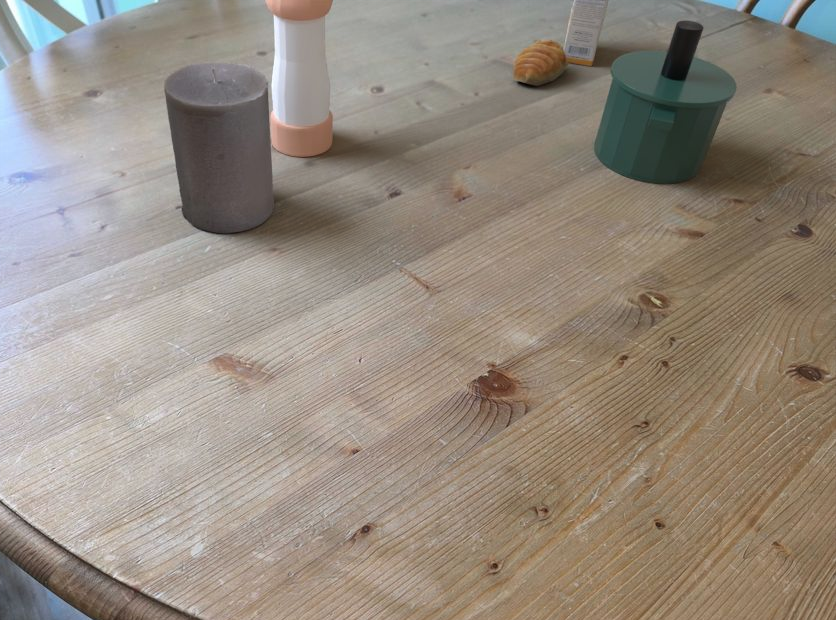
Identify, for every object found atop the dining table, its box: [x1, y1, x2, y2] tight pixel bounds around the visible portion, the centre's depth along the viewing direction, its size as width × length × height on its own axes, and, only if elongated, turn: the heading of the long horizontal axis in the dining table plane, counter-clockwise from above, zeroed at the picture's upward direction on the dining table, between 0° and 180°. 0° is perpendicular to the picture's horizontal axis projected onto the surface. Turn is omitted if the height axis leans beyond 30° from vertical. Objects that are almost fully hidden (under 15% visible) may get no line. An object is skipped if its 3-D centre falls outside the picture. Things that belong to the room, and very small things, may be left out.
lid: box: [610, 20, 737, 108], centre depth 82 cm, size 14×14×7 cm
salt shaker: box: [265, 0, 334, 158], centre depth 83 cm, size 7×7×19 cm
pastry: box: [512, 39, 569, 87], centre depth 105 cm, size 9×7×4 cm
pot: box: [593, 78, 728, 185], centre depth 88 cm, size 13×18×10 cm
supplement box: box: [563, 0, 610, 67], centre depth 108 cm, size 8×5×13 cm, turn 163°
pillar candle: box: [163, 61, 275, 234], centre depth 74 cm, size 10×10×15 cm
